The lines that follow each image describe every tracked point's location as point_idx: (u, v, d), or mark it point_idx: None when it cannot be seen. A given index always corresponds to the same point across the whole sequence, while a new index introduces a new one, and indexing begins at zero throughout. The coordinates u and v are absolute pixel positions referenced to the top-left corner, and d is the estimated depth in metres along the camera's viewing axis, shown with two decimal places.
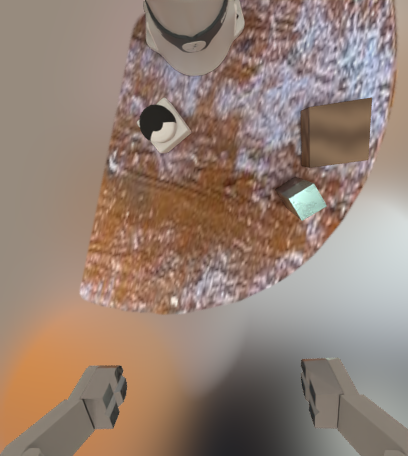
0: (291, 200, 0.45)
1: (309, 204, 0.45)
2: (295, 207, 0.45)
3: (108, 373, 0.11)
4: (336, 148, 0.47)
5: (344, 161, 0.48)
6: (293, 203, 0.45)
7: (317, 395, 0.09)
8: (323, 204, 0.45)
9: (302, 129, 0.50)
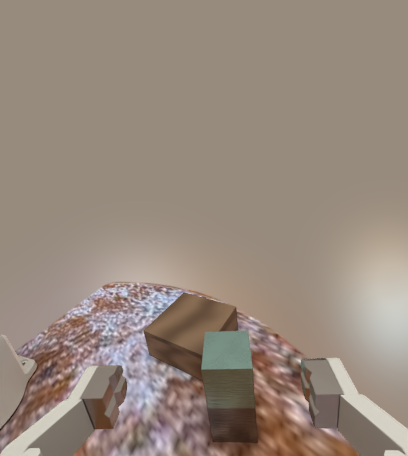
0: (206, 367, 0.24)
1: (231, 347, 0.26)
2: (222, 367, 0.24)
3: (108, 373, 0.11)
4: (202, 324, 0.39)
5: (222, 323, 0.38)
6: (213, 366, 0.24)
7: (317, 395, 0.09)
8: (242, 333, 0.28)
9: (165, 358, 0.38)
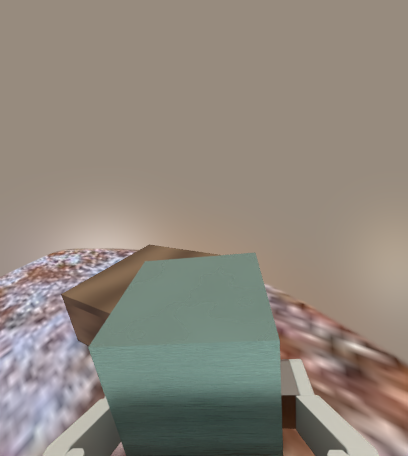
0: (110, 339, 0.07)
1: (208, 286, 0.09)
2: (165, 338, 0.07)
3: None
4: None
5: None
6: (134, 337, 0.07)
7: None
8: (241, 257, 0.10)
9: None
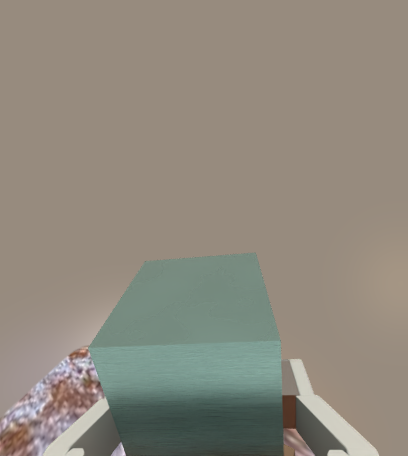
0: (110, 339, 0.07)
1: (208, 286, 0.09)
2: (165, 338, 0.07)
3: None
4: None
5: None
6: (134, 337, 0.07)
7: None
8: (242, 257, 0.10)
9: None
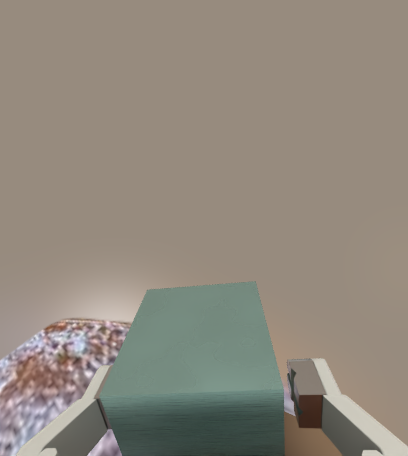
0: (120, 386, 0.07)
1: (211, 322, 0.09)
2: (173, 385, 0.07)
3: None
4: None
5: None
6: (143, 384, 0.07)
7: (300, 395, 0.09)
8: (242, 287, 0.11)
9: None
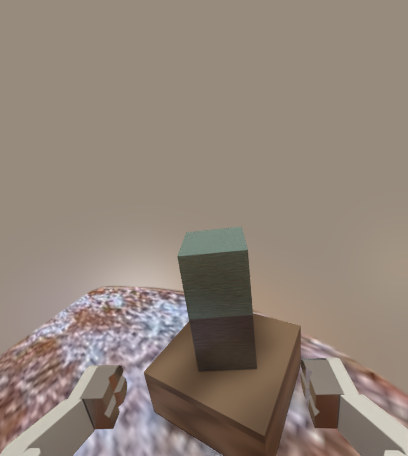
0: (184, 254, 0.18)
1: (220, 238, 0.20)
2: (206, 252, 0.18)
3: (108, 373, 0.11)
4: None
5: (285, 358, 0.21)
6: (194, 253, 0.18)
7: (317, 395, 0.09)
8: (235, 228, 0.22)
9: (183, 423, 0.21)
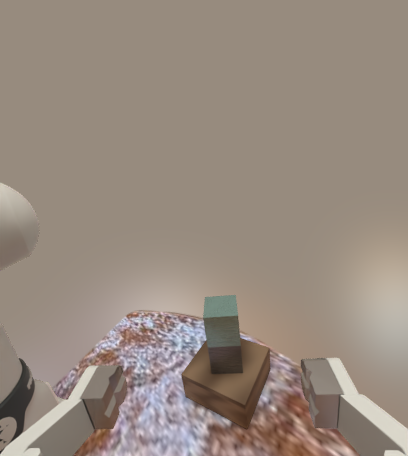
0: (206, 316, 0.36)
1: (224, 305, 0.38)
2: (217, 315, 0.36)
3: (108, 373, 0.11)
4: None
5: (258, 367, 0.39)
6: (211, 315, 0.36)
7: (317, 395, 0.09)
8: (232, 296, 0.39)
9: (203, 402, 0.39)
